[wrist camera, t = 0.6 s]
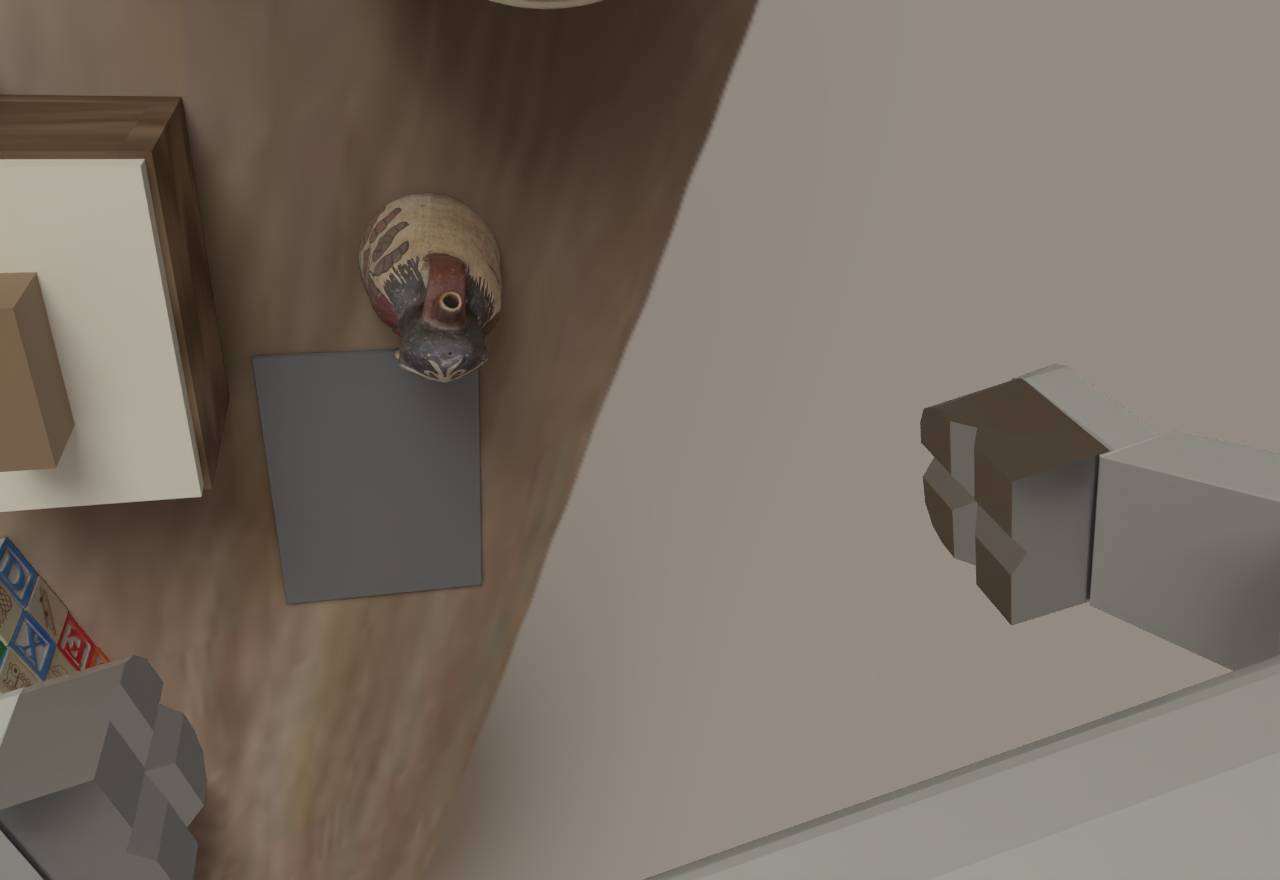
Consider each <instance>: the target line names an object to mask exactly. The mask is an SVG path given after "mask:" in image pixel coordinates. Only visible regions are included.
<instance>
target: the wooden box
mask: <svg viewBox="0 0 1280 880" xmlns="http://www.w3.org/2000/svg"><path fill="white" fill-rule="evenodd" d="M0 159H145V164H146V170H147V175H148V181H149V186H150V192H151V197H152V203H153V208H154V214H155V219H156V224H157V230H158V235H159V241H160V246H161V252H162V257H163V263H164V268H165V274H166V279H167V285H168V290H169V296H170V301H171V307H172V312H173V318H174V323H175V329H176V334H177V340H178V345H179V351H180V356H181V362H182V367H183V373H184V378H185V383H186V389H187V394H188V400H189V405H190V411H191V416H192V422H193V427H194V433H195V438H196V444H197V449H198V455H199V460H200V466H201V471H202V477H203V482H204V487H203V490H212V486H213V481H214V475H215V470H216V465H217V460H218V454H219V449H220V444H221V439H222V433H223V428H224V423H225V418H226V412H227V407H228V402H229V394H228V388H227V381H226V375H225V369H224V363H223V356H222V350H221V344H220V337H219V331H218V325H217V318H216V312H215V306H214V300H213V293H212V287H211V281H210V274H209V268H208V262H207V255H206V249H205V243H204V237H203V230H202V224H201V218H200V211H199V205H198V199H197V193H196V186H195V180H194V174H193V167H192V161H191V155H190V148H189V142H188V136H187V130H186V123H185V117H184V111H183V104H182V98H181V97H138V96H56V95H0Z"/></svg>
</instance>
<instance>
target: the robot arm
mask: <svg viewBox="0 0 1280 880" xmlns="http://www.w3.org/2000/svg"><path fill="white" fill-rule="evenodd" d="M920 424H921V443H922V444H923V445H924V446H925V447H926V448H927V449H928V450H929V451H930V452H931V454H932V455H933V456H934V459H933V460H932V462H931V464H930V466H929V467H928V469H927V471H926V473H925V474H924V476H923V482H924V494H925V503H926V506H927V509H928V512H929V515H930V518H931V522H932V525H933V527H934V529H935V531H936V532H937V534H938V536H939V538H940V539H941V541H942V543H943V544H944V546H945V547H946V548H947V549H948V550H949V552H950V553H951V554H952V555H953V557H954V558H956V559H959V560H962V561H965V562H968V563H971V564H973V565H976V582H977V585H978V587H979V588H980V589H981V590H982V591H983V593H984V594H985V595H986V596H987V597H988V598H989V600H990V601H991V602H992V603H993V604H994V605H995V607H996V608H997V609H998V610H999V611H1000V612H1001V614H1002V615H1003V616H1004V617H1005V618H1006V620H1007V621H1008V622H1009V623H1010V624H1011V625H1014V624H1017V623H1021V622H1024V621H1027V620H1030V619H1034V618H1037V617H1040V616H1044V615H1047V614H1050V613H1053V612H1056V611H1060V610H1062V609H1066V608H1069V607H1073V606H1076V605H1079V604H1082V603H1086V602H1089V601H1090V606H1093V607H1095V608H1097V609H1099V610H1101V611H1104V612H1106V613H1108V614H1110V615H1112V616H1114V617H1117V618H1119V619H1121V620H1124V621H1125V622H1128V623H1130V624H1132V625H1134V626H1136V627H1139V628H1141V629H1143V630H1145V631H1148V632H1150V633H1152V634H1154V635H1156V636H1158V637H1160V638H1163V639H1165V640H1167V641H1169V642H1172V643H1174V644H1176V645H1178V646H1180V647H1182V648H1185V649H1187V650H1189V651H1191V652H1193V653H1196V654H1198V655H1200V656H1202V657H1204V658H1207V659H1209V660H1211V661H1213V662H1215V663H1218V664H1220V665H1222V666H1224V667H1226V668H1229V669H1231V670H1233V672H1230V673H1227V674H1225V675H1222V676H1219V677H1216V678H1213V679H1210V680H1208V681H1205V682H1202V683H1199V684H1196V685H1193V686H1191V687H1188V688H1185V689H1182V690H1179V691H1177V692H1174V693H1171V694H1168V695H1166V696H1162V697H1160V698H1157V699H1154V700H1151V701H1148V702H1146V703H1143V704H1140V705H1138V706H1135V707H1132V708H1129V709H1126V710H1123V711H1120V712H1117V713H1115V714H1112V715H1109V716H1107V717H1103V718H1101V719H1098V720H1095V721H1092V722H1089V723H1086V724H1084V725H1081V726H1078V727H1075V728H1072V729H1070V730H1067V731H1064V732H1061V733H1058V734H1056V735H1053V736H1050V737H1047V738H1044V739H1041V740H1038V741H1036V742H1033V743H1030V744H1027V745H1024V746H1021V747H1019V748H1016V749H1013V750H1010V751H1007V752H1004V753H1001V754H999V755H996V756H993V757H990V758H987V759H984V760H982V761H979V762H976V763H973V764H970V765H968V766H964V767H962V768H959V769H956V770H953V771H950V772H948V773H944V774H942V775H939V776H936V777H933V778H930V779H928V780H925V781H922V782H919V783H916V784H913V785H910V786H908V787H905V788H902V789H899V790H896V791H893V792H890V793H888V794H885V795H882V796H879V797H876V798H873V799H870V800H868V801H865V802H862V803H859V804H856V805H853V806H851V807H848V808H845V809H842V810H839V811H836V812H833V813H831V814H828V815H825V816H822V817H820V818H816V819H813V820H811V821H808V822H805V823H802V824H799V825H796V826H794V827H791V828H788V829H785V830H782V831H779V832H777V833H774V834H771V835H768V836H765V837H762V838H759V839H757V840H754V841H751V842H748V843H746V844H742V845H740V846H737V847H734V848H731V849H729V850H725V851H723V852H720V853H717V854H714V855H711V856H709V857H706V858H703V859H700V860H697V861H694V862H692V863H689V864H686V865H683V866H680V867H677V868H675V869H672V870H669V871H666V872H663V873H660V874H658V875H655V876H652V877H649V878H646V879H644V880H1280V453H1278V452H1274V451H1269V450H1264V449H1259V448H1254V447H1250V446H1245V445H1240V444H1235V443H1231V442H1226V441H1221V440H1217V439H1212V438H1207V437H1202V436H1197V435H1192V434H1188V433H1183V432H1178V431H1174V432H1171V433H1167V434H1164V435H1161V434H1160V433H1158V432H1157V431H1155V430H1154V429H1153V428H1151V427H1150V426H1149V425H1147V424H1146V423H1145V422H1143V421H1142V420H1140V419H1139V418H1138V417H1136V416H1135V415H1134V414H1132V413H1131V412H1130V411H1128V410H1127V409H1125V408H1124V407H1123V406H1121V405H1120V404H1119V403H1117V402H1116V401H1115V400H1113V399H1112V398H1110V397H1109V396H1108V395H1106V394H1105V393H1104V392H1102V391H1101V390H1100V389H1098V388H1097V387H1095V386H1094V385H1093V384H1091V383H1090V382H1089V381H1087V380H1086V379H1085V378H1083V377H1082V376H1080V375H1079V374H1078V373H1076V372H1075V371H1074V370H1072V369H1071V368H1070V367H1068V366H1064V365H1059V364H1053V365H1051V366H1048V367H1045V368H1042V369H1039V370H1036V371H1033V372H1030V373H1027V374H1025V375H1022V376H1019V377H1016V378H1013V379H1012V380H1011V381H1009V382H1006V383H1003V384H999V385H996V386H993V387H990V388H987V389H984V390H981V391H977V392H974V393H971V394H968V395H965V396H962V397H959V398H956V399H953V400H949V401H946V402H943V403H941V404H938V405H934V406H931V407H928V408H925V409H924V410H923V414H922V418H921V422H920ZM162 687H163V681H162V680H161V678H160V677H159V676H158V674H157V673H156V671H155V670H154V669H153V667H152V666H151V664H150V663H149V662H148V660H147V659H145V658H142V657H138V656H135V655H132V656H129V657H126V658H122V659H119V660H115V661H112V662H108V663H105V664H101V665H98V666H95V667H91V668H88V669H84V670H81V671H77V672H74V673H71V674H67V675H64V676H60V677H57V678H53V679H50V680H47V681H43V682H40V683H36V684H33V685H31V686H30V687H23V688H20V689H17V690H13V691H10V692H7V693H4V694H1V695H0V880H193V877H194V870H195V863H196V857H197V850H198V843H197V841H196V840H195V838H194V837H193V836H192V834H191V833H190V831H189V830H188V828H187V827H188V826H189V824H190V823H191V822H192V820H193V819H194V818H195V817H196V815H197V814H198V813H199V811H200V810H201V809H202V807H203V806H204V801H205V792H206V784H207V779H206V771H205V764H204V757H203V751H202V749H201V746H200V743H199V741H198V738H197V736H196V733H195V731H194V729H193V728H192V726H191V724H190V723H189V721H188V720H187V718H186V716H185V715H184V713H181V712H179V711H176V710H174V709H171V708H169V707H166V706H164V705H162V704H159V702H160V697H161V692H162Z"/></svg>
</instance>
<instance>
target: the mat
mask: <svg viewBox="0 0 1280 880" xmlns="http://www.w3.org/2000/svg"><path fill="white" fill-rule="evenodd" d="M397 350H398V349H395V350H372V351H350V352H328V353H306V354H284V355H261V356H252V362H253V369H254V376H255V383H256V390H257V397H258V404H259V411H260V418H261V425H262V432H263V439H264V446H265V453H266V460H267V467H268V474H269V481H270V488H271V495H272V502H273V509H274V516H275V523H276V530H277V537H278V544H279V551H280V558H281V565H282V572H283V579H284V586H285V593H286V600H287V604H294V603H304V602H314V601H324V600H333V599H343V598H353V597H363V596H373V595H383V594H393V593H403V592H413V591H423V590H433V589H442V588H452V587H462V586H472V585H482V570H481V504H480V439H479V374H478V368H477V369H475V370H473V371H472V372H470V373H468V374H467V375H465V376H463V377H461V378H459V379H457V380H454V381H451V382H445V383H443V382H436V381H432V380H429V379H426V378H424V377H421V376H418V375H416V374H413V373H410V372H408V371H406V370H404V369H402V368H400V365H399V359H398V358H396V357H395V355H394V353H395V352H396V351H397Z"/></svg>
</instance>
